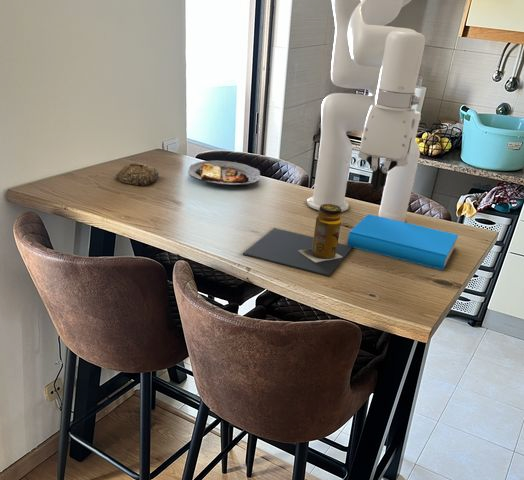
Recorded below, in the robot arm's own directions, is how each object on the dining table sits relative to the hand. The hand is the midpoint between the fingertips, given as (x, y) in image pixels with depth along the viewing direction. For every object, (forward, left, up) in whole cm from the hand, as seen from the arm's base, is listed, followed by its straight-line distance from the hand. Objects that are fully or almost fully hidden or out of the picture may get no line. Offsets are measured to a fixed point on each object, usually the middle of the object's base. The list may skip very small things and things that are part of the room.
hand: (376, 188), depth 125 cm
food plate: (-43, -59, -19) cm, 75 cm away
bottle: (-37, -1, -19) cm, 42 cm away
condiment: (0, -11, -19) cm, 22 cm away
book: (-18, +6, -19) cm, 27 cm away
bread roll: (-24, -80, -19) cm, 86 cm away
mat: (0, -16, -19) cm, 25 cm away
